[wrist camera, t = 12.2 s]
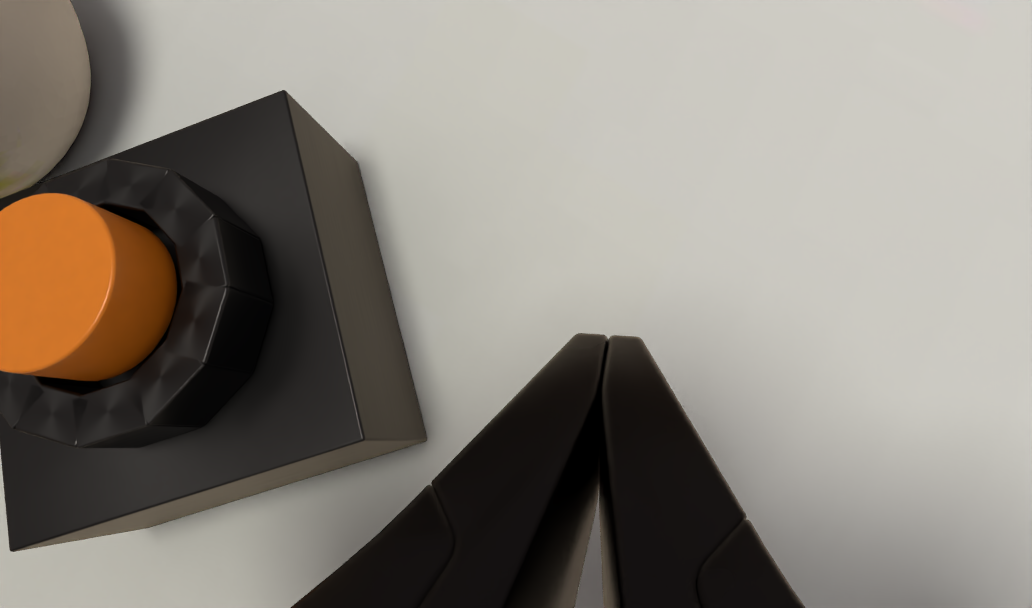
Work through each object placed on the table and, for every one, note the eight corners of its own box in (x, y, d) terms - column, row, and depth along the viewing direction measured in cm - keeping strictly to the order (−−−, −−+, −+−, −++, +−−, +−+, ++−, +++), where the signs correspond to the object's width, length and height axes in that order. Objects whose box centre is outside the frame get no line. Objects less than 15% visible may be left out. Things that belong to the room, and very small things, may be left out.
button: (191, 352, 16) (126, 339, 14) (43, 402, 16) (-41, 397, 14) (165, 199, 17) (101, 166, 15) (26, 251, 17) (-55, 226, 15)
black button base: (428, 440, 21) (327, 440, 14) (147, 528, 22) (-72, 567, 15) (357, 161, 23) (243, 47, 17) (107, 252, 24) (-96, 180, 18)
